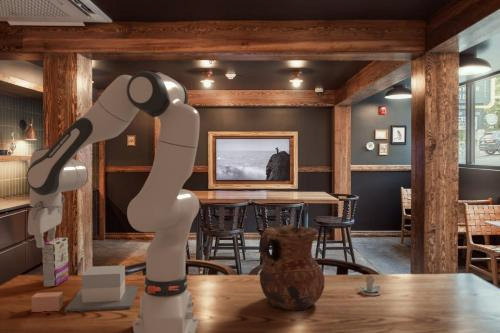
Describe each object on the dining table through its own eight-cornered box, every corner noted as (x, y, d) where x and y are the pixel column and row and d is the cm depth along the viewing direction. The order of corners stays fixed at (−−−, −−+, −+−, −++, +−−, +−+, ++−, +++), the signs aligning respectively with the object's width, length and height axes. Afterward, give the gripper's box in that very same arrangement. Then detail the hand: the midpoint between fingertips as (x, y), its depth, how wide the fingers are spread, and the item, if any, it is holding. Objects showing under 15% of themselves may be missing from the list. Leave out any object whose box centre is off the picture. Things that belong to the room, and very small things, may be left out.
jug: (278, 288, 149) (278, 220, 149) (333, 298, 139) (334, 225, 138) (247, 308, 130) (247, 230, 130) (308, 322, 120) (308, 237, 119)
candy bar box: (57, 278, 162) (56, 237, 161) (69, 278, 162) (68, 237, 161) (42, 287, 150) (41, 243, 150) (55, 287, 150) (54, 243, 150)
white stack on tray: (130, 308, 130) (130, 277, 130) (64, 312, 127) (64, 280, 127) (138, 288, 150) (138, 261, 149) (81, 290, 147) (81, 263, 147)
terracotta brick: (58, 311, 128) (58, 296, 128) (31, 313, 127) (31, 297, 126) (62, 307, 132) (62, 291, 132) (36, 308, 131) (36, 293, 130)
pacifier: (383, 297, 141) (378, 290, 147) (383, 279, 141) (378, 273, 147) (361, 296, 141) (357, 290, 147) (362, 279, 141) (358, 273, 147)
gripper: (44, 204, 118) (44, 251, 119) (65, 196, 138) (66, 236, 139) (21, 204, 117) (21, 251, 118) (46, 196, 138) (46, 237, 138)
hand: (45, 243), depth 129 cm, fingers open, 8 cm apart
